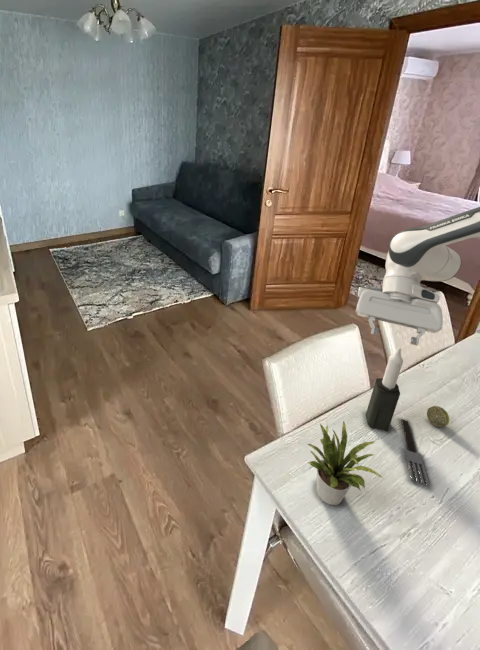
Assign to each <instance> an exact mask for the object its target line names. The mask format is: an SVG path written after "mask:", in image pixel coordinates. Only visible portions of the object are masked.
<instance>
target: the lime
mask: <svg viewBox="0 0 480 650" xmlns="http://www.w3.org/2000/svg"><path fill="white" fill-rule="evenodd" d="M426 418H427V420H428V422H429V423H431V425H433V426H435V427H438V428H444V427H446V426H448V425H449V423H450V415H449V413H448V411H446V409H444V408H443V407H441V406H439V405H432V406H430V407H428V408H427V411H426Z"/></svg>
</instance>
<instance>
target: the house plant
mask: <svg viewBox="0 0 480 650" xmlns="http://www.w3.org/2000/svg"><path fill="white" fill-rule="evenodd" d="M319 426H320V430H321V432H322V438H320V443H321V445H322V450H323V452H322V450H321V449H320V447H318V446H316V445H313V444H312V443H307V445H308V446H309V447H310V448H312V449H313V450H315V451H316V452H317V454H319V455H320V456H321V458H322V460H321V458H319V456H318V455H317V454H316V453H315V452H313V451H312V450H311V449H309V451H310V453H311V454H312V456H314V459H315V460H312V461H307V462H306V463H307V464H309V465H310V466H311V467H313V468H315V469H316V492H317V496H318V497H319V498H320V499H321V500H322V501H323V502H324V503H326V504H327V505H330V506H337V505H340V503H341V502H342V500H343V499H344V498H345V497H346V495H347V493H348V492H349V490H350V489H351V487H353V488H356V489H358V490H359V491H360V492H362V490H361V487H360V486H362V487H363V489H364V490H365V487H366V486H365V482H366V481H365V480H364V478H363V476H362V475H359V474H357V473H351V472H352V471H363V472H367V473H371V474H373V475H376V476H377V477H379V478H382V479H385V478H384V477H383V476H382V475H381V474H379V473H378V472H377V471H376V470H374V469H372V468H370V467H368V466H364V465H359V462H361V461H364V460H365V459H367V458H369V457H373V456H375V454H373V453H367V454H363V455H360V456H358V453H359V452H360V451H362V450H364V449H365V448H366V447H368V446H370V445H372V444H375V441H364V442H362V443H360V444H358V445H356V446H354V447H353V448H352V449H350V451H348V454H347V455H346V456H345V452H346V448H347V445H348V444H347V443H348V432H347V428H346V423H345V420H343V422H342V426H341V427H342V428H341V440H340V439H339V437H338V435H337V432H336V431H335V430H334V429H333V428H332V432H333V435H332V438H331V437H330V435H329V433H328V432H329V427H328V424H326V427H324V425H322V423H319ZM355 465H357V466H355Z"/></svg>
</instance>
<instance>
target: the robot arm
mask: <svg viewBox="0 0 480 650" xmlns="http://www.w3.org/2000/svg"><path fill="white" fill-rule="evenodd" d="M473 238H480V206H479V207H474V208H472V209H469V210H465V211H463V212H460V213H457V214H454V215H452V216H448V217H446V218H443V219H440V220H437V221H434V222H432V223H431V222H430V223H429V224H425V225H421V226H416V227H415V226H414V227H408V228H405V229H402V230H401V231H398V232H397V233H396V234H394V235H393V237H391V239H390V241H389V244H388V249H387V250H388V252H387V254H386V258H385V265H384V267H385V274H384V276H383V278H382V287H378V286H371V285H368V284H365V285H362V286H360V287H358V289H357V297H358V301H357V304H356V307H355V314H356V315H357V316H359V317H363V318H367V319H368V320H367V323H368V325H369V327H370V329H371V330H370V334H371V335H373V336H378V334H379V327H376V326H375V321H380V322H384V323H388V324H392V325H398V326H403V327H406V328H410V329H414V330H416V334H417V335H416V336H412V337H411V338H410V345H413V346H419V343H420V339H421V338H422V337H423V336H424V335H425V334H426V332H427V333H431V334H437V333H439V332H440V331H441V330H442V329H443V325H444V324H443V322H444V321H443V320H444V319H443V310H442V307H441V306H440V304H439V302H440V298H441V297H440V295H439V294H438V293H435V292H434V291H431V290H430V289H427V288H425V287H423V286H421V282H422V281H426V282H446V281H449V280H451V279H453V278H454V277H455V276H456V275H457V274H458V273H459V272H460V270H461V267H462V257H461V255H460V254H459V253H458V252H456V251H455V250H454V249H452V248H450V247H449V246H448V245H452V244H455V243H458V242H461V241H465V240H469V239H473Z"/></svg>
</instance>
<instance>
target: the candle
mask: <svg viewBox="0 0 480 650" xmlns="http://www.w3.org/2000/svg"><path fill="white" fill-rule="evenodd" d="M401 351H402V348H401V347H397V350H396V351H395V352H394V354H391V355H390V356H389V357H388V360H387V363H386V368H385V370H384V374H383V377H381V378H380V377H377V378H376V379H375V381H374V385H373V388H372V392H371V396H370V398H369V402H368V405H367V409H366V412H365V419H366V424H367V426H368V427H369V428H371V429H376V430H380V431H383V432H388V431H389V429H390V426H391V424H392V420H393V418H394V414H395V411H396V408H397V405H398V402H399V400H400V396H401V391H400V388H399V387H400V386H399V385H398V379H399V376H400V373H401V369H402V367H403V364H404V360H403V357H402V352H401Z"/></svg>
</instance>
